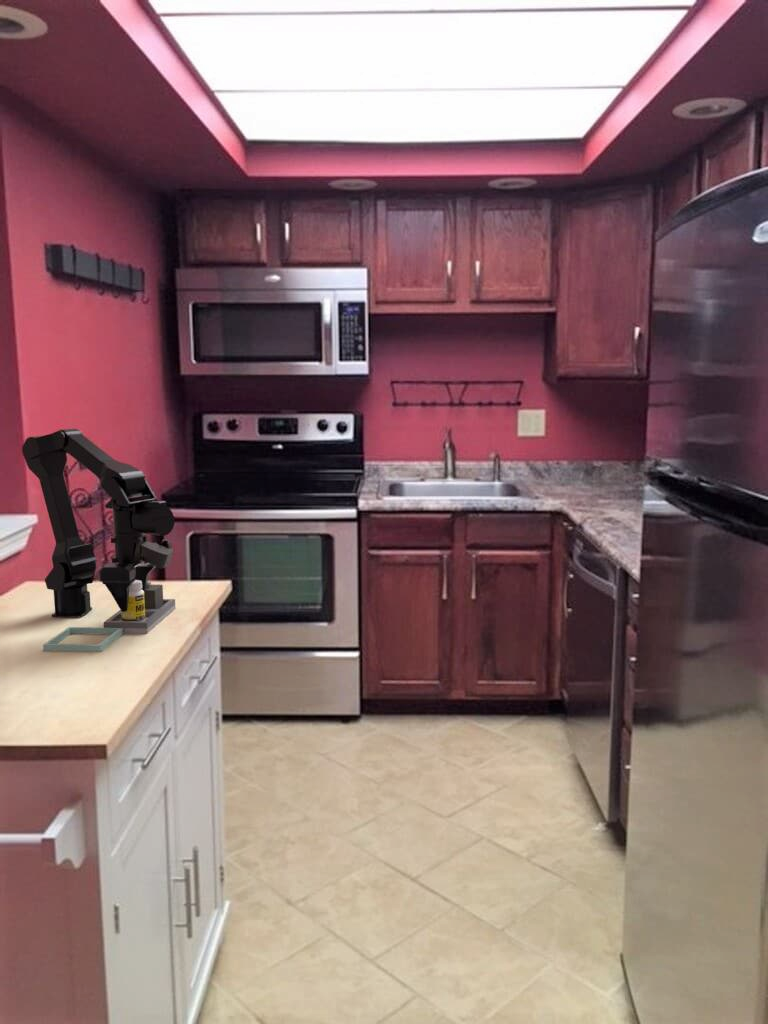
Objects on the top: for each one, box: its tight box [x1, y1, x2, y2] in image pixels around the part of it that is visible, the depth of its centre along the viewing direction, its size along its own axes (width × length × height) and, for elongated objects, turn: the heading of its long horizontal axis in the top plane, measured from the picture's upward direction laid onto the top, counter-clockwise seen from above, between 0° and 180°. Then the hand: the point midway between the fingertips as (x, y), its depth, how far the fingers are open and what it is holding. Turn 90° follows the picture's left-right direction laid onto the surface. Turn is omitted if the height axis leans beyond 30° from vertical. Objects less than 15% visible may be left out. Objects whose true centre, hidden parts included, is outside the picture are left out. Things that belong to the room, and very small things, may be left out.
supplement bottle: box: [121, 580, 145, 621], centre depth 174 cm, size 5×5×8 cm
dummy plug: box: [144, 580, 164, 609], centre depth 183 cm, size 5×5×6 cm
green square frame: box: [42, 626, 124, 653], centre depth 164 cm, size 11×11×1 cm
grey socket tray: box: [103, 598, 177, 634], centre depth 179 cm, size 9×18×2 cm, turn 176°
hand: (132, 605), depth 174 cm, fingers open, 9 cm apart
